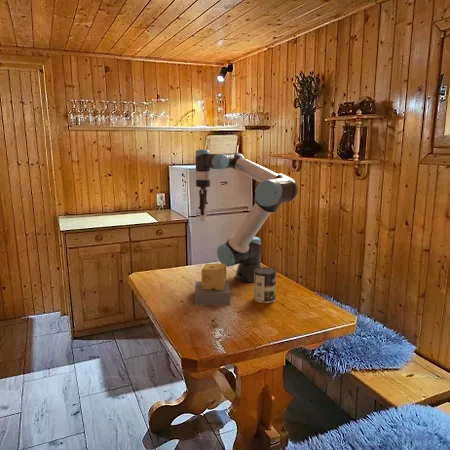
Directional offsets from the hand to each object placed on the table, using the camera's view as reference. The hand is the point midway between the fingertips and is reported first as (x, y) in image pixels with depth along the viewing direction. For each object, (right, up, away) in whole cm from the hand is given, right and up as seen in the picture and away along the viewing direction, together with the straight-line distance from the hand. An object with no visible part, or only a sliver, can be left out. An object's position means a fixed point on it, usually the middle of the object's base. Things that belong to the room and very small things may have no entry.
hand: (203, 218), depth 219 cm
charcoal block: (+6, -39, -27) cm, 47 cm away
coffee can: (+30, -39, -28) cm, 57 cm away
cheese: (+6, -33, -27) cm, 43 cm away
